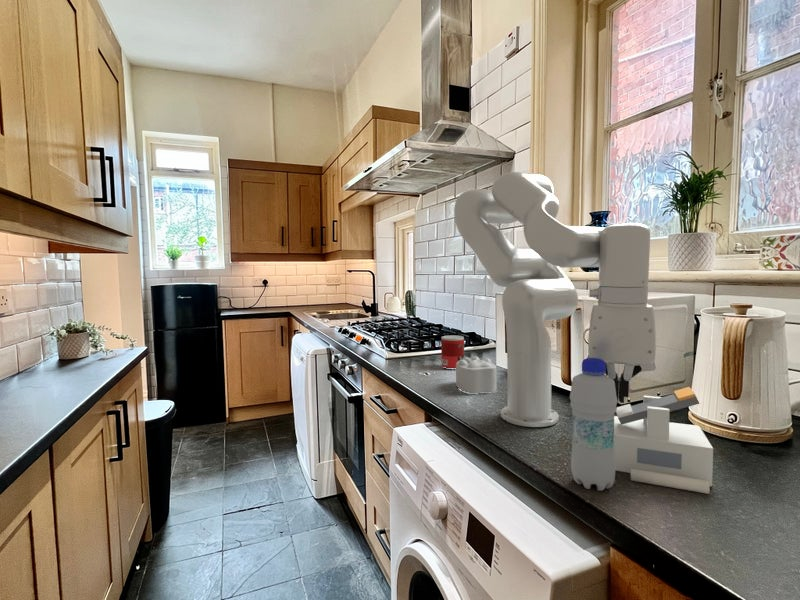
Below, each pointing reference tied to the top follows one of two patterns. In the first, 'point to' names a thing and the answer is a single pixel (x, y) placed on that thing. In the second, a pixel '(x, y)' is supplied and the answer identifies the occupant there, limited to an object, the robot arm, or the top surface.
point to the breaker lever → (657, 405)
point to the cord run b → (670, 481)
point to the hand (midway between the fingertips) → (618, 400)
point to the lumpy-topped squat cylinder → (476, 375)
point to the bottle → (593, 425)
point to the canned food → (452, 350)
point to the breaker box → (662, 446)
